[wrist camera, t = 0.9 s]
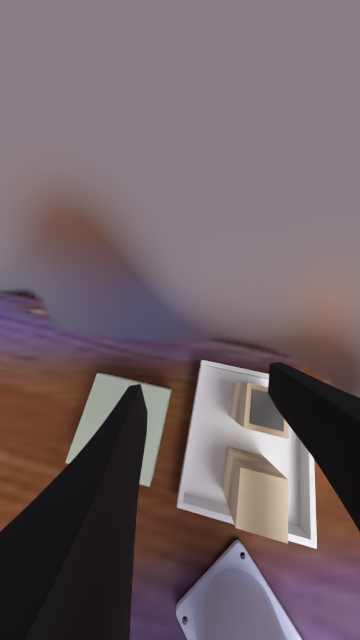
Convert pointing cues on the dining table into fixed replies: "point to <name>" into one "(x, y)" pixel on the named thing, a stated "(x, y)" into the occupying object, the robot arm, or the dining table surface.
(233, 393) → the labelled block
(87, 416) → the sage stand
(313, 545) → the parts tray
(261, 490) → the plain block
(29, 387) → the dining table surface
